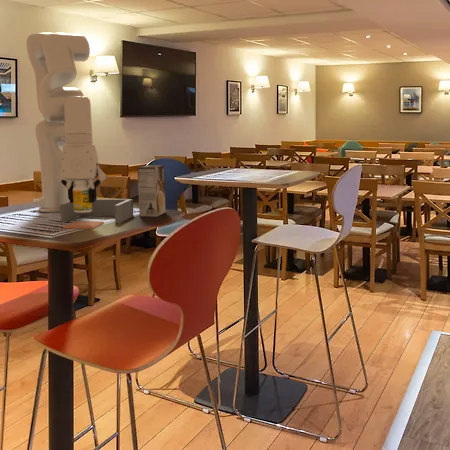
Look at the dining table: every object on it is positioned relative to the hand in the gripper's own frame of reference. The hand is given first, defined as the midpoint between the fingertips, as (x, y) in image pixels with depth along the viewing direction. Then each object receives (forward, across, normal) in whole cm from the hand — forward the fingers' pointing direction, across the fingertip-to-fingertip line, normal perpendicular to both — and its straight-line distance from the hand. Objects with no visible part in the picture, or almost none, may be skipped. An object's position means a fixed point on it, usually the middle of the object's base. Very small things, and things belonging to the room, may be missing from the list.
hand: (82, 201), depth 172 cm
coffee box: (+7, +15, +23) cm, 29 cm away
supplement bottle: (+3, 0, 0) cm, 3 cm away
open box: (+7, 0, +12) cm, 14 cm away
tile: (+7, 0, 0) cm, 7 cm away
